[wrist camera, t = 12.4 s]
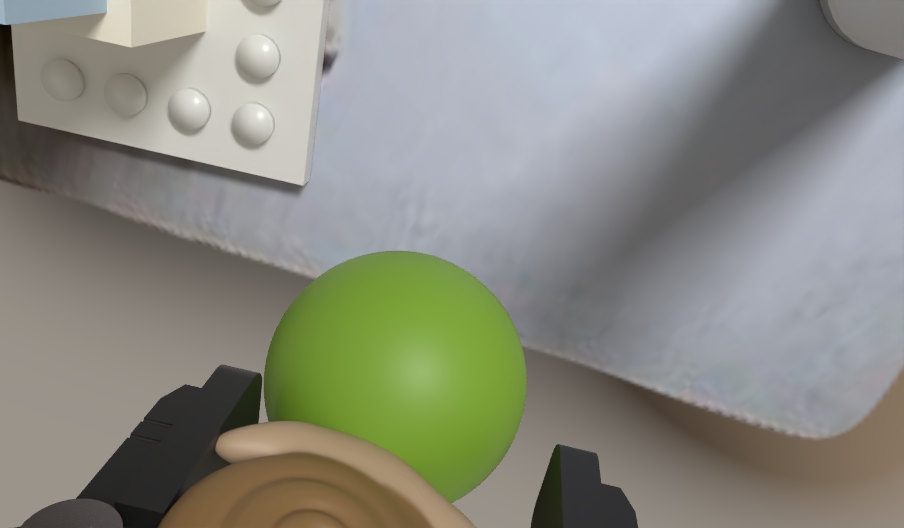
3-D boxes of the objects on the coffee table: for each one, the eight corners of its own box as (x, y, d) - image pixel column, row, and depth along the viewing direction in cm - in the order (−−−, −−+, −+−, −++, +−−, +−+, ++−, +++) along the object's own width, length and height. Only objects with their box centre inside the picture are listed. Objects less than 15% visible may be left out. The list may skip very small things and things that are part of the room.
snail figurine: (494, 454, 18) (438, 1176, 8) (278, 347, 18) (-123, 975, 7) (606, 301, 16) (753, 1020, 5) (363, 172, 15) (-36, 696, 5)
